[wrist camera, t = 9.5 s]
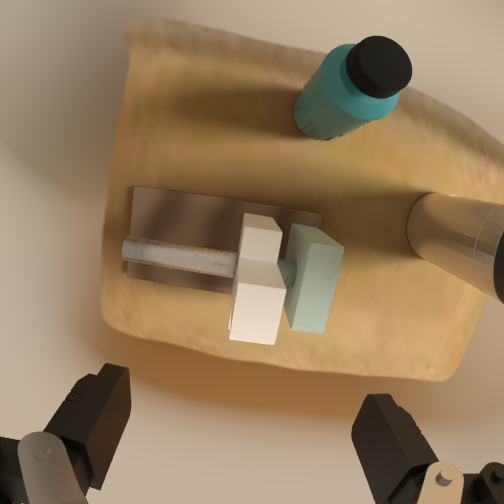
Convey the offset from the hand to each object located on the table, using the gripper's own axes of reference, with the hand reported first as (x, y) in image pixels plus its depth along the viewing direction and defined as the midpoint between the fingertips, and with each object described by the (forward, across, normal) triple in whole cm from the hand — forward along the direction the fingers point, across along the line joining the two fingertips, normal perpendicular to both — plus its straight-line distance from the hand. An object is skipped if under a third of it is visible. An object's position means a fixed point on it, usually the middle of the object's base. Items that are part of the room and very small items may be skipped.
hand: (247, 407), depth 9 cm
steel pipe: (+22, +3, +1) cm, 23 cm away
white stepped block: (+25, -1, +1) cm, 25 cm away
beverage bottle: (+29, -6, -16) cm, 34 cm away
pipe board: (+29, +2, +1) cm, 29 cm away
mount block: (+27, -7, +1) cm, 28 cm away
